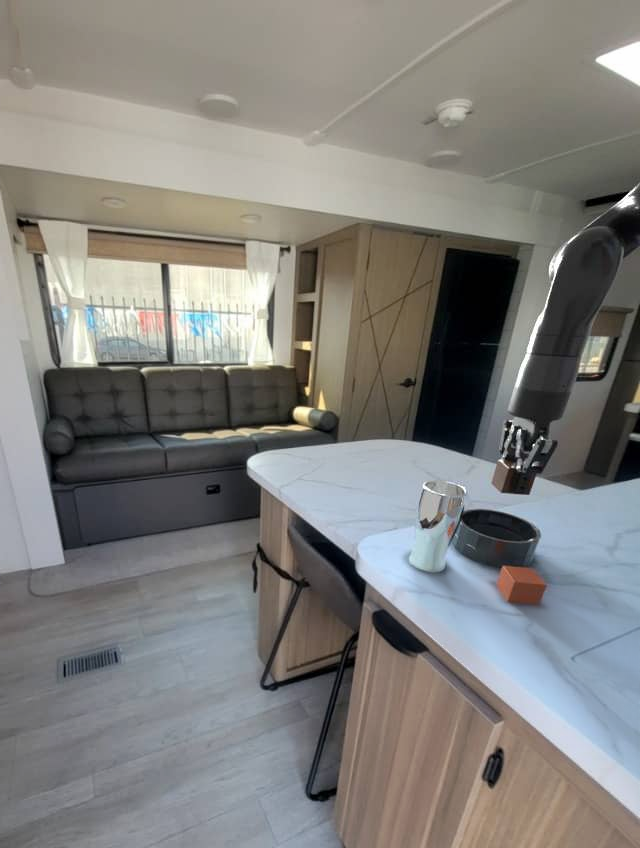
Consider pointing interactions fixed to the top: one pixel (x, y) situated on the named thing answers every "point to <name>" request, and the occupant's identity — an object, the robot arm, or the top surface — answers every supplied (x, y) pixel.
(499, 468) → the walnut block
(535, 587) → the terracotta block
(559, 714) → the top surface
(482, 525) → the shallow dark bowl
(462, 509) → the beer glass
